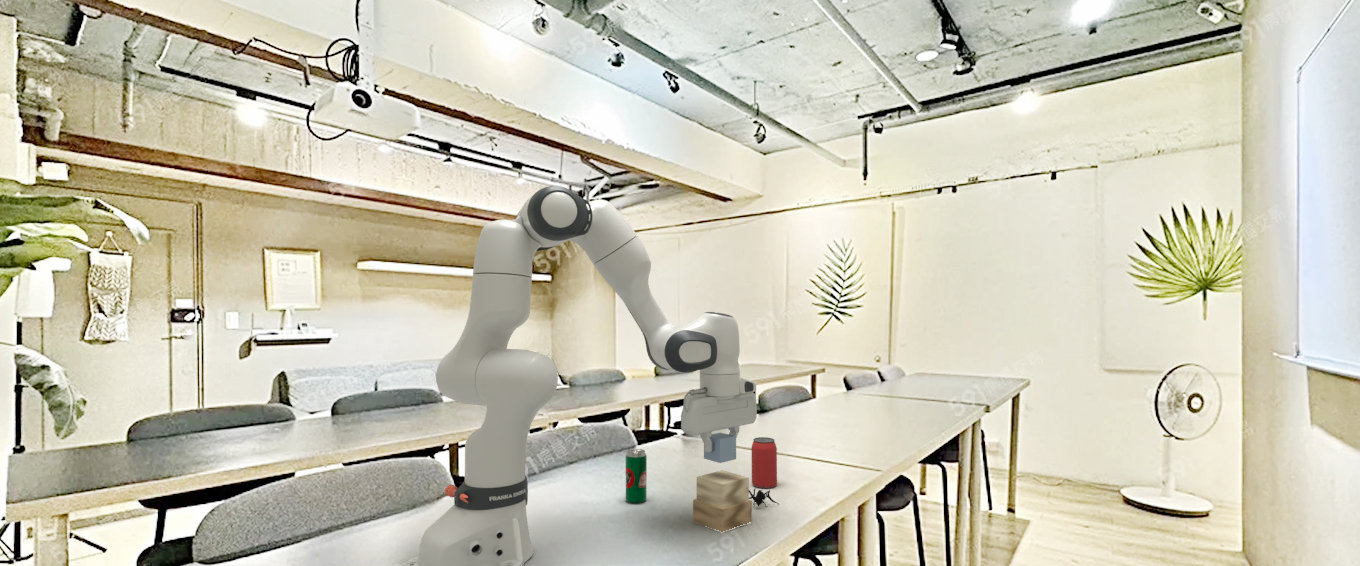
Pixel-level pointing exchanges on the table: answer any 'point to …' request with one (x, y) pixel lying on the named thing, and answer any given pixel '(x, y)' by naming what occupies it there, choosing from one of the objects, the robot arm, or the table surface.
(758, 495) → the creature
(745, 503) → the block lower
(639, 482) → the soda can
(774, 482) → the beer can
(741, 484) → the block upper
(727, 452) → the blue gray block
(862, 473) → the table surface
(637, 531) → the table surface
